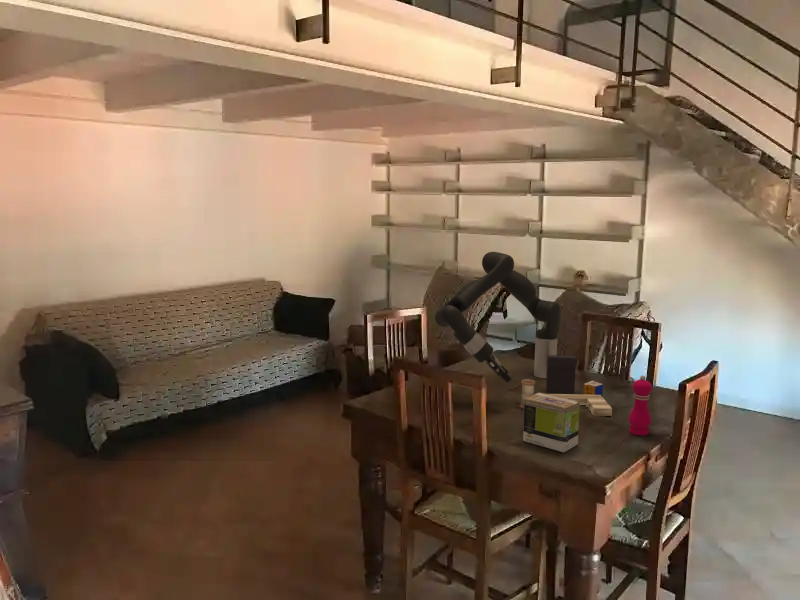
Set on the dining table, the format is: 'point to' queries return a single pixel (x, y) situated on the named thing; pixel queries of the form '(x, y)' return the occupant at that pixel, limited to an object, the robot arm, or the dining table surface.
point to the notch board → (590, 403)
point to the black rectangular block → (560, 374)
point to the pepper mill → (640, 408)
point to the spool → (527, 390)
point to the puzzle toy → (593, 388)
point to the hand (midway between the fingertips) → (507, 377)
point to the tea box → (551, 421)
